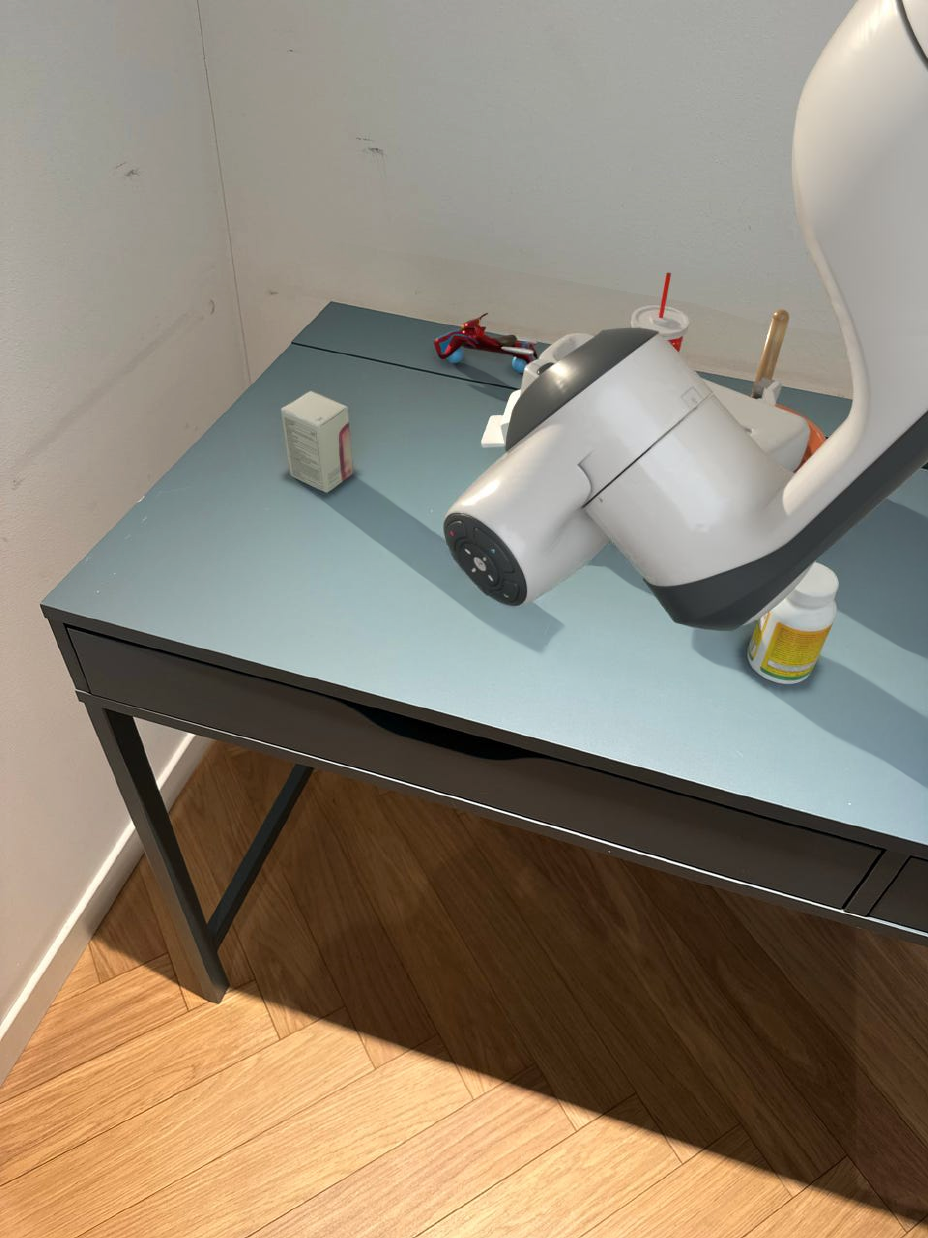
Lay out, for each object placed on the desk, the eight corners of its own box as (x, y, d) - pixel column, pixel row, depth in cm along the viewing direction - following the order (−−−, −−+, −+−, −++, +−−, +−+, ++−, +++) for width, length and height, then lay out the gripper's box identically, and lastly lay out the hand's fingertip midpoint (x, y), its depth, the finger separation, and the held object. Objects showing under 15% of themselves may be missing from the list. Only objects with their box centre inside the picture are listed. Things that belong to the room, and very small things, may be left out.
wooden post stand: (769, 478, 96) (822, 307, 83) (749, 505, 93) (801, 331, 80) (720, 460, 98) (764, 290, 85) (700, 486, 95) (742, 313, 82)
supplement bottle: (733, 650, 80) (761, 565, 74) (783, 631, 82) (815, 546, 75) (774, 695, 77) (807, 610, 70) (826, 674, 79) (863, 589, 72)
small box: (355, 473, 96) (350, 406, 91) (326, 495, 94) (319, 426, 88) (317, 455, 98) (310, 388, 93) (288, 475, 96) (279, 407, 90)
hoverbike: (439, 347, 114) (439, 303, 110) (538, 362, 112) (542, 317, 108) (428, 369, 111) (428, 324, 107) (530, 385, 109) (534, 339, 105)
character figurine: (572, 533, 91) (586, 425, 82) (474, 517, 92) (478, 409, 84) (584, 478, 97) (599, 372, 88) (492, 464, 98) (498, 359, 90)
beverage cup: (673, 410, 106) (698, 290, 96) (617, 403, 107) (636, 283, 97) (675, 381, 110) (699, 263, 100) (622, 374, 111) (641, 257, 101)
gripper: (768, 466, 60) (856, 376, 68) (506, 357, 69) (610, 288, 77) (745, 543, 64) (830, 451, 72) (502, 431, 73) (601, 359, 81)
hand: (715, 366), depth 74 cm, fingers open, 8 cm apart
